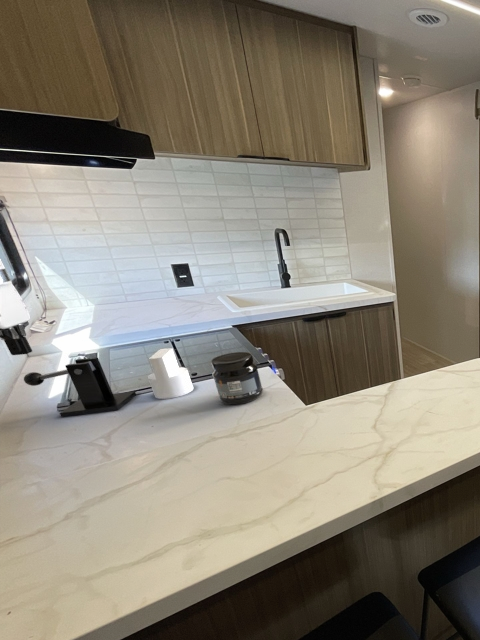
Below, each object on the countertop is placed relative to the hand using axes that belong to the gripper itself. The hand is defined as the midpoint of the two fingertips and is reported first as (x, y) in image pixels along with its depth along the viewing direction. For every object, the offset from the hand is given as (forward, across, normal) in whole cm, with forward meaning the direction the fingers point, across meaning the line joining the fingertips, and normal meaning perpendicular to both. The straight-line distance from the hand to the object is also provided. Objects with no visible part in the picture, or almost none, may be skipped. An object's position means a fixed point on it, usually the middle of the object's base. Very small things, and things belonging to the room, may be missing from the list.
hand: (22, 353), depth 100 cm
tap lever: (+8, 0, +5) cm, 9 cm away
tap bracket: (+16, 0, +11) cm, 19 cm away
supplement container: (+17, +7, +46) cm, 50 cm away
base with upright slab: (+17, -4, +26) cm, 31 cm away
